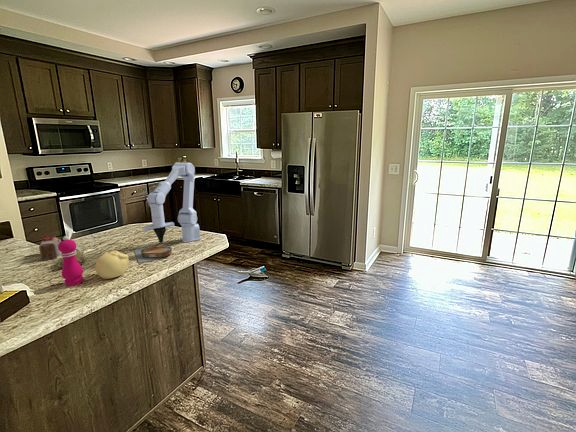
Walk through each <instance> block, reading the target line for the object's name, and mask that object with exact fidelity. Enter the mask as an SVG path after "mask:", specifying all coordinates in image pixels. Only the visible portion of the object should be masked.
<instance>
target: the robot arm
mask: <svg viewBox="0 0 576 432" xmlns="http://www.w3.org/2000/svg"><path fill="white" fill-rule="evenodd" d="M195 168H196V167H195V166H194V165H193V163H191V162H178V161H176V162H174V164H173V166H171V171H170V173H169V175H168V176H167V177H166V179H165V180H164V181H160V182H159V183H158V185H157V186H156V188H155V189H154V190H153V191H152V192H149V194H148V195H147V198H146V201H147V204H148V205H149V208H150V213H151V221H152V222H151V223H152V224H150V225H146V226H143V227H142V228H143V229H142V230H143V231H144V232H148V231H152V230H153V232H154V234H155V235H156V237H157V239H158V242H159V243H160V244H161V243H164V237H165V233H166V231H167V228H171V227H175V222H173V221H170V222H165V213H164V205H163V204H164V203H165V201H166V197H167V195H168V194H169V192H170V190H171V189H172V184H173V183H174V182H175V181H176V180H177V179H178V178H179V177H180V178H182V180H183V193H182V194H183V195H182V197H183V199H182V207H181V209H179V211H178V216H177V222H178V223H179V225H180V226H181V235H182V237H181V238H180V239H181V240H182V242H183V243H188V242H194V241H200V240H201V231H200V229H201V228H200V225H199V223H197V222H198V216H197V211H196V210H195V209H194V208H193V207H194V190H195V174H196V169H195Z"/></svg>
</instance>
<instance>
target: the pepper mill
mask: <svg viewBox="0 0 576 432" xmlns="http://www.w3.org/2000/svg"><path fill="white" fill-rule="evenodd" d="M76 246H77V243H76V241H75V240H73V239H69V236H66V235H64V236H63V238H62V240H61V242H60V243H59V244H58V250H59V251H60V255H61V258H63V259H64V265H63V267H62V269H61V277H62V278H63V279H64V285H65V286H67V287H75V286H77V285H79V284H82V283H83V282H84V280H85V279H84V276H83V274H84V268H83V267H82V264H79V263H78V261H77V259H76V250H75V249H76Z"/></svg>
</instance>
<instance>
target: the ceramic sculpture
mask: <svg viewBox="0 0 576 432" xmlns="http://www.w3.org/2000/svg"><path fill="white" fill-rule="evenodd" d="M75 250H76V259H77V261H78V263H79V264H80V265H83V264H84V263H86V256H85V255H84V250H83V249H82V248H81V247H79V246H78V245H76V249H75ZM63 265H64V259H63V257H61V259H59V261H58V262H57V267H58V268H63Z"/></svg>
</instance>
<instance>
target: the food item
mask: <svg viewBox="0 0 576 432" xmlns="http://www.w3.org/2000/svg"><path fill="white" fill-rule="evenodd" d="M61 241H62V240H61V239H60V238H58V237H56V235H55V236H49V237H43V238H42V239H41V243H40V244H39V245H38V246H39V247H38V249H39V255H40V257H41V259H42V261H49V260H56V259H57V258H58V256H60V255H61V251H59V250H58V244H59V243H60V242H61Z"/></svg>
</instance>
